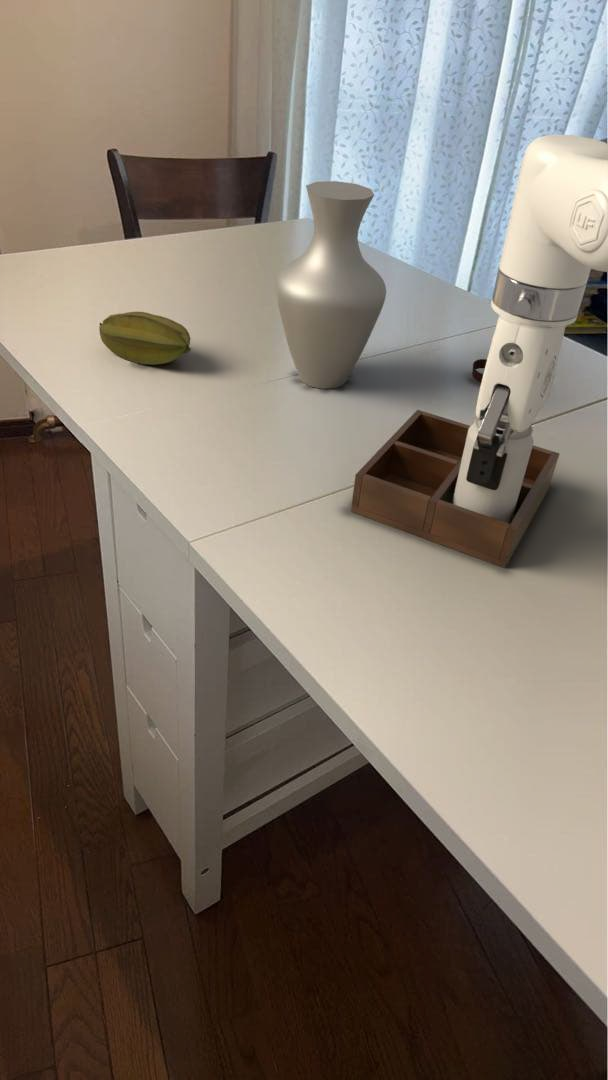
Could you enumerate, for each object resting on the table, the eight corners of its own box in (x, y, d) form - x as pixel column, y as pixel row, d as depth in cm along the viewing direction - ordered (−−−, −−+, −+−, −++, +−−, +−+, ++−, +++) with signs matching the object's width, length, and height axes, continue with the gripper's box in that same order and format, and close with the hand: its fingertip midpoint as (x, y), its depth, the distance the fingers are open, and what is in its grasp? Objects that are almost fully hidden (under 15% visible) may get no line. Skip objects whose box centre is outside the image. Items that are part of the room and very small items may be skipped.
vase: (395, 385, 111) (424, 196, 96) (318, 413, 103) (337, 212, 88) (325, 348, 120) (342, 169, 104) (249, 371, 112) (256, 181, 96)
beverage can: (440, 528, 83) (461, 428, 76) (460, 499, 88) (482, 402, 81) (499, 549, 81) (527, 447, 74) (516, 518, 86) (544, 419, 79)
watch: (525, 381, 115) (531, 358, 113) (521, 395, 112) (527, 371, 110) (473, 370, 117) (478, 347, 115) (467, 383, 113) (472, 359, 111)
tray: (548, 488, 93) (559, 453, 90) (504, 568, 81) (516, 530, 78) (411, 443, 99) (417, 409, 96) (350, 511, 86) (355, 474, 84)
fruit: (177, 339, 118) (176, 295, 114) (193, 375, 109) (193, 329, 105) (98, 344, 115) (94, 299, 111) (109, 382, 106) (104, 335, 102)
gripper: (554, 338, 62) (503, 523, 73) (601, 277, 75) (551, 443, 85) (463, 314, 65) (427, 497, 76) (523, 259, 77) (484, 423, 88)
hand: (493, 467), depth 80 cm, fingers closed on beverage can, 6 cm apart
